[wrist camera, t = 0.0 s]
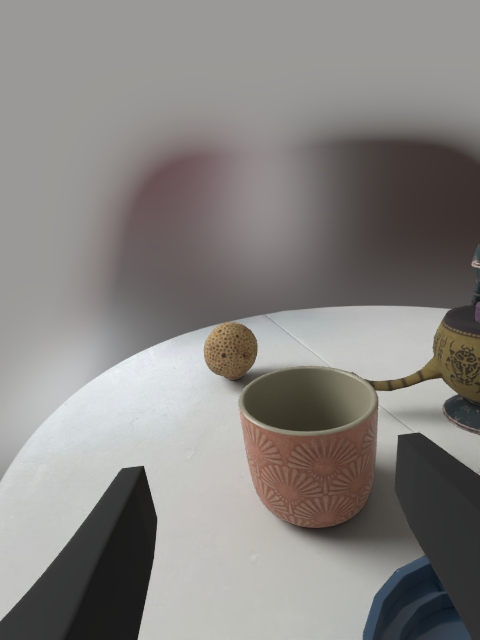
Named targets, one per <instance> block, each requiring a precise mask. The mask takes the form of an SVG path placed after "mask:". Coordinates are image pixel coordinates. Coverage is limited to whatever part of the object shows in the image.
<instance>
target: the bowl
mask: <svg viewBox="0 0 480 640" xmlns="http://www.w3.org/2000/svg"><path fill="white" fill-rule="evenodd" d="M363 640H472V639H471V637H470V635H469V633H468V631H467V629H466V627H465V625H464V623H463V621H462V619H461V617H460V615H459V613H458V612H457V610H456V608H455V606H454V605H453V603H452V601H451V599H450V597H449V596H448V594H447V592H446V590H445V589H444V587H443V585H442V583H441V581H440V580H439V578H438V576H437V574H436V573H435V571H434V569H433V567H432V565H431V564H430V562H429V560H428V558H427V557H426V555H425V556H423V557H421V558H419V559H417V560H415V561H413V562H411V563H409V564H407V565H405V566H403V567H401V568H399V569H397V570H396V571H395V572H394V574H393V575H392V576H391V577H390V578H389V580H388V581H387V582H386V583H385V584H384V585H383V587H382V588H381V589H380V590H379V591H378V592H377V594H376V595H375V597H374V599H373V603H372V606H371V609H370V612H369V615H368V618H367V622H366V625H365V628H364V631H363Z"/></svg>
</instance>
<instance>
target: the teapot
mask: <svg viewBox="0 0 480 640" xmlns="http://www.w3.org/2000/svg"><path fill="white" fill-rule="evenodd" d="M472 266H473V268H474V270H475V272H476V274H477V276H478V278H479V279H478V280H477V281H476V287H475V291H474V292H473V301H472V304H471V306H463V307H458V308H454V309H452V310H449V311H448V312H447V313H446V315H445V317H444V318H443V320H442V322H441V324H440V325H439V327H438V329H437V332H436V334H435V336H434V343H433V352H434V357H433V358H432V359H431V360H430V361H429V362H428V363H427V364H426V365H425V366H424V367H423V369H421V370H419V371H417V372H416V373H414V374H412V375H410V376H407V377H405V378H401V379H397V380H387V381H369V380H366V379H364V380H366V381H367V382H368V383H369V384H370V385H371V386H372V387H373V388H374V390H378V391H392V390H396V389H400V388H405V387H409V386H412V385H415V384H417V383H420V382H423V381H426V380H430V379H436V378H442V379H443V381H444V382H445V383H446V384H447V385H448V386H449V387H451V388H452V389H453V390H454V391H455V392H457V393H458V395H455V396H453V397H451V398H450V399H448V400H446V401H445V403H444V405H443V412H444V415H445V416H446V418H447V419H448V420H449V421H450V422H452V423H453V424H455V425H456V426H458V427H459V428H462V429H464V430H467V431H469V432H472V433H475V434H479V435H480V244H479V246H478V248H477V249H476V252H475V254H474V257H473V260H472ZM351 373H352V374H354V373H353V372H351ZM355 375H356V374H355ZM357 376H358V375H357ZM362 379H363V378H362Z"/></svg>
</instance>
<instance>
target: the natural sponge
mask: <svg viewBox="0 0 480 640" xmlns="http://www.w3.org/2000/svg"><path fill="white" fill-rule="evenodd" d="M256 356H257V340H256V338H255V336H254V334H253V333H252V331H251V330H250V329H248V328H247V327H246V326H244V325H242V324H240V323H235V322H225V323H223V324H221V325H219V326H218V327H216V328H215V329H214V330H213V331H212V332H211V334H210V335H209V336H208V338H207V340H206V342H205V346H204V357H205V361H206V364H207V366H208V367H209V369H210V370H211V371H212V372H214V373H215V374H217V375H220V376H224V377H226V378H228V379H230V380H236V379H239V378H241V377H242V376H243V375H244V374H245V373H246V372H247V371H248V370H249V369H250V368H251V367H252V365H253V364H254V362H255V359H256Z"/></svg>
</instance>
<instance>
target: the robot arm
mask: <svg viewBox="0 0 480 640" xmlns="http://www.w3.org/2000/svg"><path fill="white" fill-rule="evenodd" d="M395 492H396V495H397V497H398V500H399V502H400V505H401V507H402V509H403V512H404V514H405V516H406V519H407V521H408V523H409V526H410V528H411V529H412V531H413V533H414V535H415V537H416V539H417V540H418V542H419V544H420V546H421V548H422V549H423V551H424V553H425V555H426V557H427V558H428V560H429V562H430V564H431V565H432V567H433V569H434V571H435V573H436V574H437V576H438V578H439V580H440V581H441V583H442V585H443V587H444V589H445V590H446V592H447V594H448V596H449V597H450V599H451V601H452V603H453V605H454V606H455V608H456V610H457V612H458V613H459V615H460V617H461V619H462V621H463V623H464V625H465V627H466V629H467V631H468V633H469V635H470V637H471V639H472V640H480V475H478V474H477V473H475V472H474V471H472V470H471V469H470V468H468V467H467V466H465V465H464V464H463V463H461V462H460V461H458V460H457V459H456V458H454V457H453V456H452V455H450V454H449V453H447V452H446V451H445V450H443V449H442V448H441V447H439V446H438V445H437V444H435V443H434V442H432V441H431V440H430V439H428V438H427V437H425V436H424V435H423V434H421V433H412V434H403V435H398V446H397V461H396V477H395ZM156 530H157V516H156V512H155V508H154V504H153V500H152V496H151V492H150V488H149V484H148V480H147V476H146V473H145V469H144V466H138V467H130V468H122V469H121V470H120V472H119V473H118V474H117V476H116V477H115V479H114V480H113V481H112V483H111V484H110V486H109V487H108V489H107V490H106V492H105V493H104V494H103V496H102V497H101V499H100V500H99V502H98V503H97V504H96V506H95V507H94V509H93V510H92V511H91V513H90V514H89V515H88V517H87V518H86V520H85V521H84V522H83V524H82V525H81V526H80V528H79V529H78V530H77V532H76V533H75V534H74V536H73V537H72V538H71V540H70V541H69V542H68V543H67V545H66V546H65V547H64V548H63V550H62V551H61V552H60V553H59V555H58V556H57V557H56V558H55V560H54V561H53V562H52V563H51V565H50V566H49V567H48V568H47V570H46V571H45V572H44V573H43V574H42V576H41V577H40V578H39V579H38V580H37V581H36V583H35V584H34V585H33V586H32V587H31V588H30V590H29V591H28V592H27V593H26V594H25V595H24V596H23V597H22V599H21V600H20V601H19V602H18V603H17V604H16V605H15V606H14V607H13V608H12V609H11V611H10V612H9V613H8V614H7V615H6V616H5V617H4V618H3V619H2V620H1V621H0V640H137V639H138V635H139V630H140V625H141V620H142V615H143V610H144V605H145V600H146V595H147V590H148V585H149V580H150V575H151V570H152V565H153V560H154V551H155V541H156Z"/></svg>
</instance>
